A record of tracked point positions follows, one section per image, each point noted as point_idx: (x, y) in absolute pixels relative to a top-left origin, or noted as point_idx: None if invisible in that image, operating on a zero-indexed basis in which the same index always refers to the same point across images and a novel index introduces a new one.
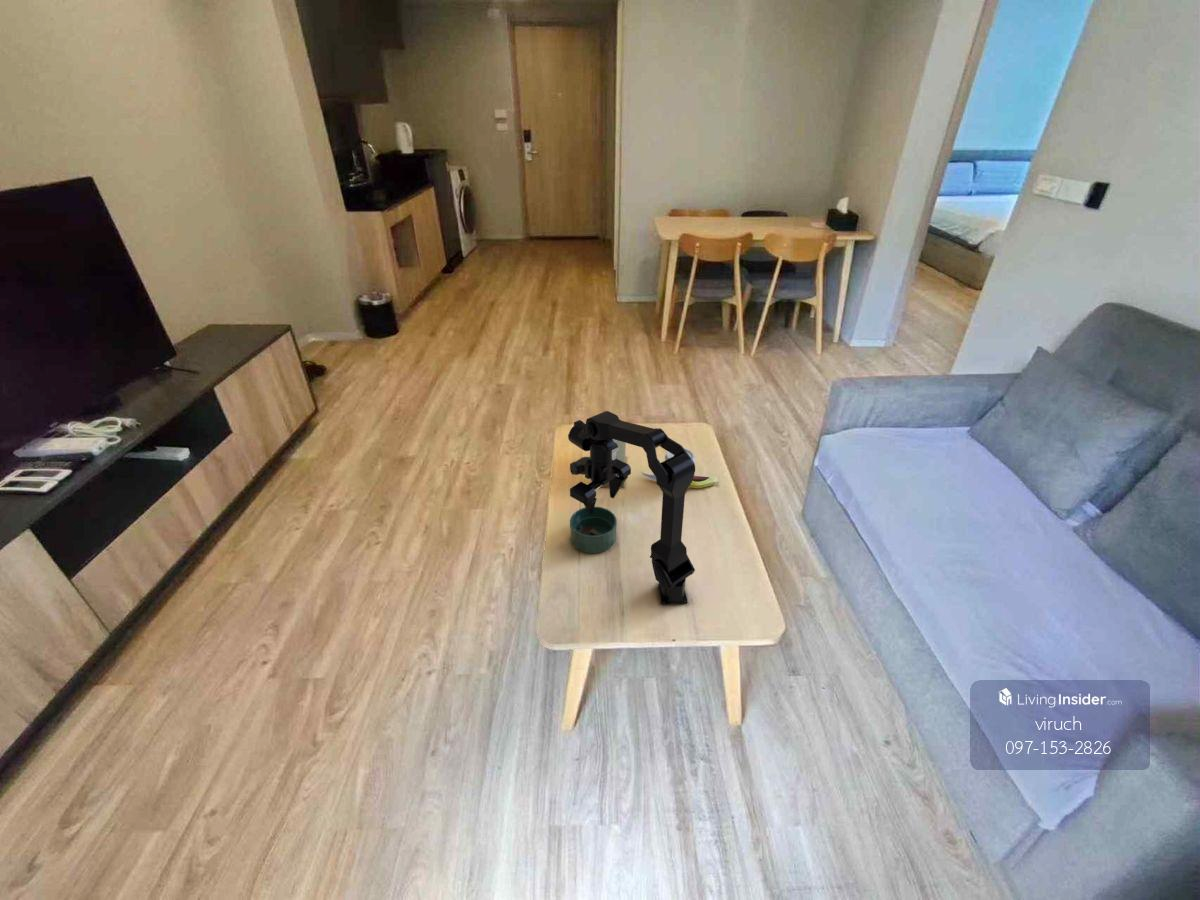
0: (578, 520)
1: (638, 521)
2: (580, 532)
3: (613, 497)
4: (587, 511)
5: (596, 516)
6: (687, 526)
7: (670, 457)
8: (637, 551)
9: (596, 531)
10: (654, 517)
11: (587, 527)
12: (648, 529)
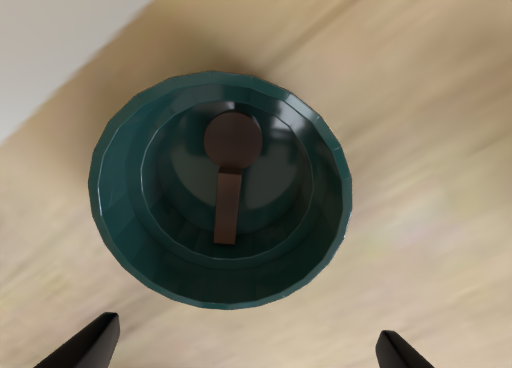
0: (232, 89)
1: (402, 243)
2: (219, 111)
3: (379, 366)
4: (88, 325)
5: (313, 147)
6: (439, 351)
7: None
8: (267, 305)
9: (234, 196)
10: (445, 271)
11: (250, 130)
12: (377, 284)
